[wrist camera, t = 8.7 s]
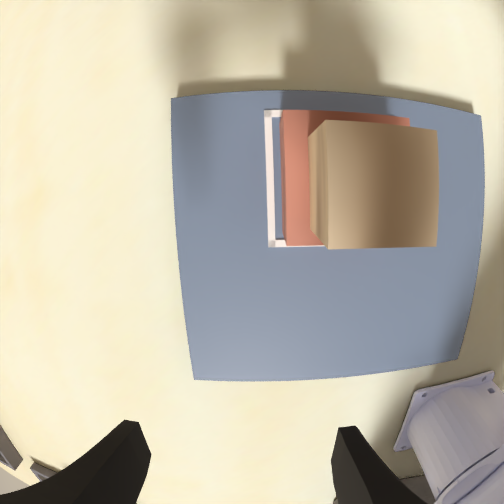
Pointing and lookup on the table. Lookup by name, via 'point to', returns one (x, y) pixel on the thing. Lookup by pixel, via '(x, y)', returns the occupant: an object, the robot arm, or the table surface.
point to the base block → (307, 166)
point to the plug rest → (41, 471)
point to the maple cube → (373, 185)
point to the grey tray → (8, 452)
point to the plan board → (313, 249)
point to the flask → (417, 488)
